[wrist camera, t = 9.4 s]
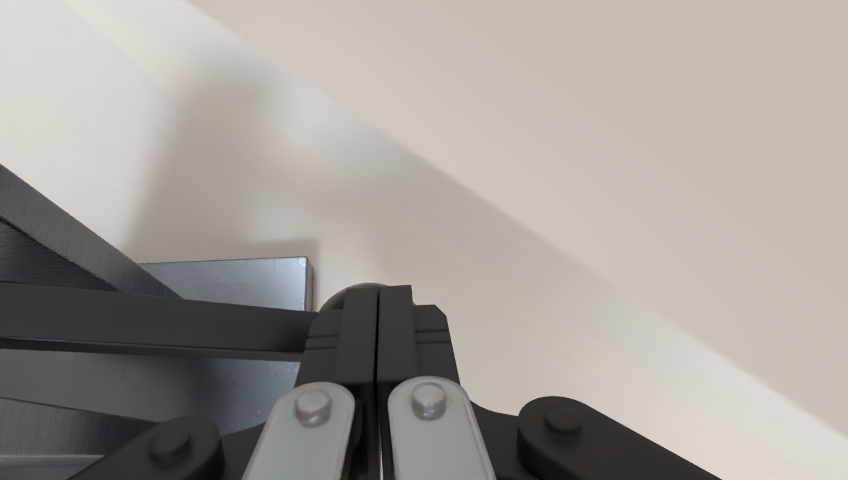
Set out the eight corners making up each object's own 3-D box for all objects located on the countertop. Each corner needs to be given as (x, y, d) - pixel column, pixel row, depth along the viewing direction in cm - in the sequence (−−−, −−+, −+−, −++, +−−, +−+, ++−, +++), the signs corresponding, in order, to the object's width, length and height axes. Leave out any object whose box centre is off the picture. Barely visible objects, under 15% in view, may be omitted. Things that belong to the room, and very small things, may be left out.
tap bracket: (313, 267, 21) (195, 16, 9) (306, 514, 17) (95, 632, 5) (9, 280, 20) (-547, 28, 8) (-65, 541, 16) (-1220, 740, 5)
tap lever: (390, 306, 16) (447, 275, 14) (394, 409, 15) (456, 395, 13) (-202, 238, 10) (-292, 156, 7) (-285, 413, 8) (-429, 385, 6)
